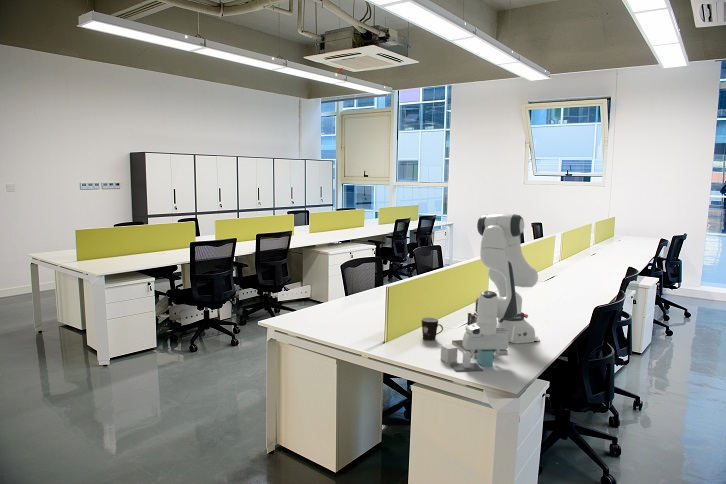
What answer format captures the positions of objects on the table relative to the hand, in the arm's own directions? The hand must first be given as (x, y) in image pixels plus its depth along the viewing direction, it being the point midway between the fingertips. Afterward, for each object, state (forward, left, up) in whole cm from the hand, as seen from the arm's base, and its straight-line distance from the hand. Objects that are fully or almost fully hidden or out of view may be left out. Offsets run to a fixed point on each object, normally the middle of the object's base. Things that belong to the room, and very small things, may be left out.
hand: (484, 358), depth 219 cm
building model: (-5, -19, -3) cm, 20 cm away
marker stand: (+10, +4, -2) cm, 11 cm away
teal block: (0, 0, -2) cm, 2 cm away
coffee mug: (+15, -35, -3) cm, 38 cm away
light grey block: (+15, -5, -2) cm, 16 cm away
